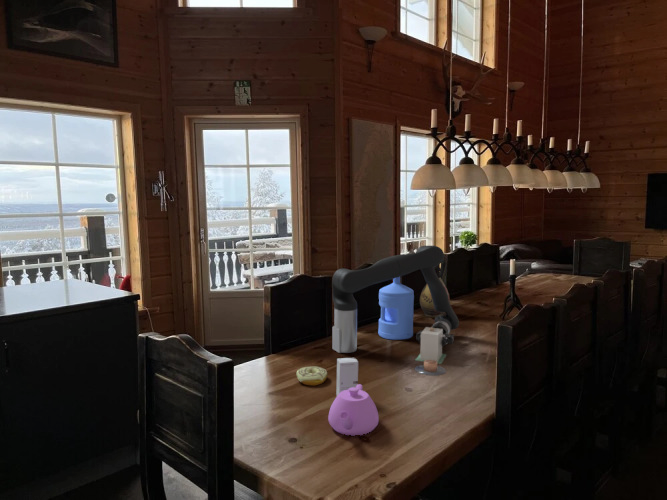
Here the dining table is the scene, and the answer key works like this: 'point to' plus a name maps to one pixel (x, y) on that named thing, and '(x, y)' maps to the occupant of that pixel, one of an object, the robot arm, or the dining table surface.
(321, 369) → the decorated donut
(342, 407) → the teapot
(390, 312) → the water jug
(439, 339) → the ceramic cover
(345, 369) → the skincare box
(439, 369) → the slate coaster
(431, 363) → the clay bowl
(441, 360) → the felt mat
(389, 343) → the dining table surface
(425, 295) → the ceramic jug
